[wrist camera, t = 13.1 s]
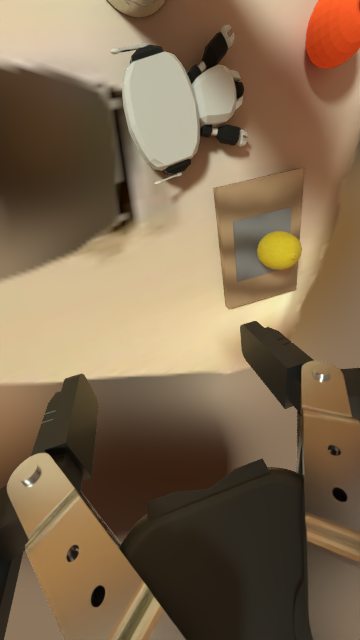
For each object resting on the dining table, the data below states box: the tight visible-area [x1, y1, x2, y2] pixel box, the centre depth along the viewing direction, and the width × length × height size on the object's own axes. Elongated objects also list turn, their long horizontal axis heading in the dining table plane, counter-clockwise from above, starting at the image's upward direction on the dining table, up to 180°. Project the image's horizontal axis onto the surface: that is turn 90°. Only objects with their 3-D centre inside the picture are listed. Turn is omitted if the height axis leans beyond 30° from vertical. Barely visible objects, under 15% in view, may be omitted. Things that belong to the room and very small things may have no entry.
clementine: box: [306, 0, 360, 69], centre depth 26 cm, size 8×7×7 cm
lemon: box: [257, 231, 302, 270], centre depth 35 cm, size 6×6×8 cm
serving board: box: [213, 168, 304, 309], centre depth 39 cm, size 20×14×2 cm
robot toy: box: [110, 24, 248, 184], centre depth 28 cm, size 12×4×15 cm
